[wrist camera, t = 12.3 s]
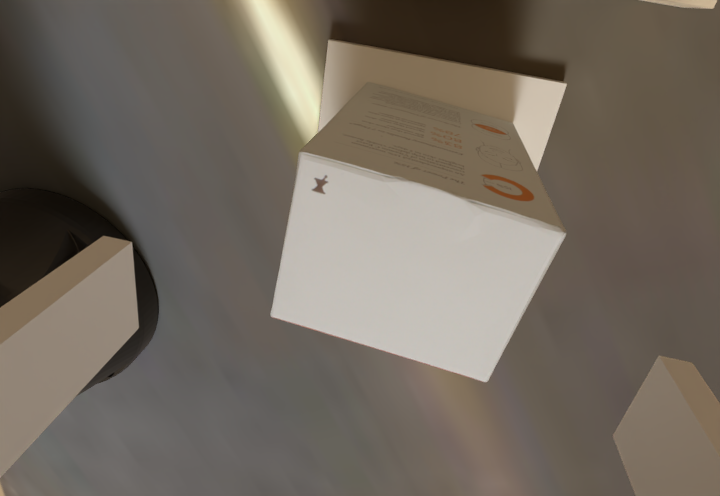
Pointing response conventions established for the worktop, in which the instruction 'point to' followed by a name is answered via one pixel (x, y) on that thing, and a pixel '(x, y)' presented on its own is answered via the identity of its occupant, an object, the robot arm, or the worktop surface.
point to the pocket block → (687, 3)
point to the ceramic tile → (445, 88)
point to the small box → (416, 231)
